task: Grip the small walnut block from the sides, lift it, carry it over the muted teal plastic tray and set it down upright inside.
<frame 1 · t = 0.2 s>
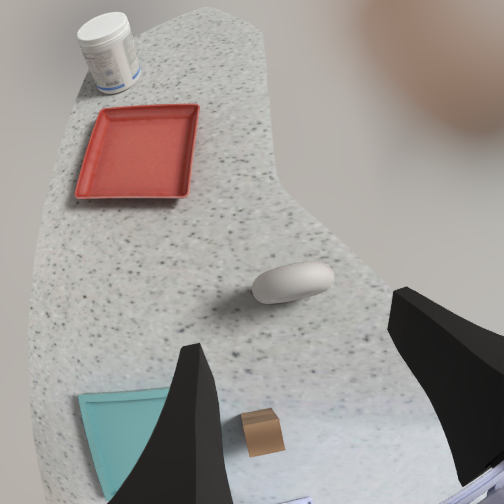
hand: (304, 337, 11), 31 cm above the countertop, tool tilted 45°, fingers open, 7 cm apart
tray: (149, 445, 35), on the countertop
supplement tub: (119, 80, 53), on the countertop
donut: (285, 291, 43), on the countertop
plant saucer: (142, 158, 49), on the countertop
block: (258, 424, 37), on the countertop
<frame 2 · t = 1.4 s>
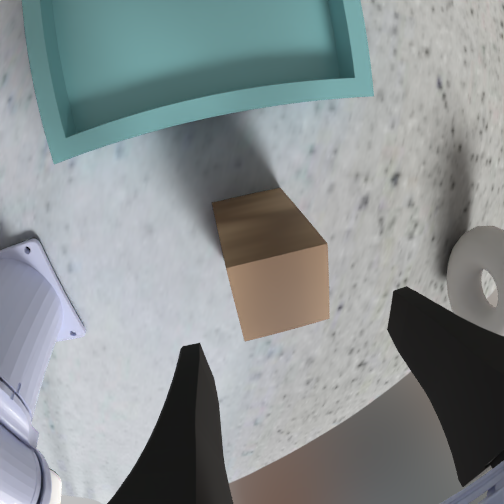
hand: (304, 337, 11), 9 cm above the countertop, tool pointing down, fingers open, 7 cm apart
wine bottle: (35, 468, 32), on the countertop
donut: (451, 256, 24), on the countertop
block: (251, 225, 19), on the countertop
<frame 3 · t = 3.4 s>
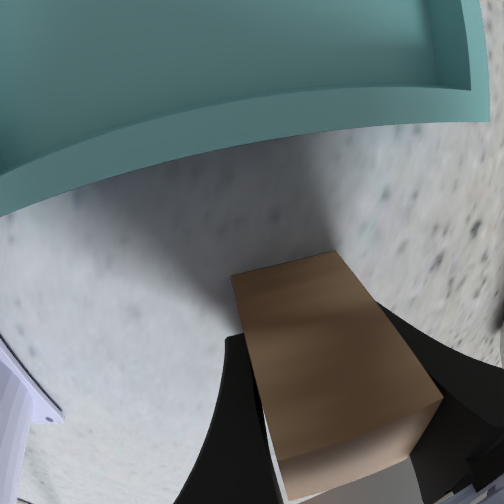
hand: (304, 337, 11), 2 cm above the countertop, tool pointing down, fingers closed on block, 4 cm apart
block: (289, 304, 13), on the countertop, touching gripper
when the fingers open (3 cm above the countertop, at t = 8.7 s): block stays where it is, resting on tray.
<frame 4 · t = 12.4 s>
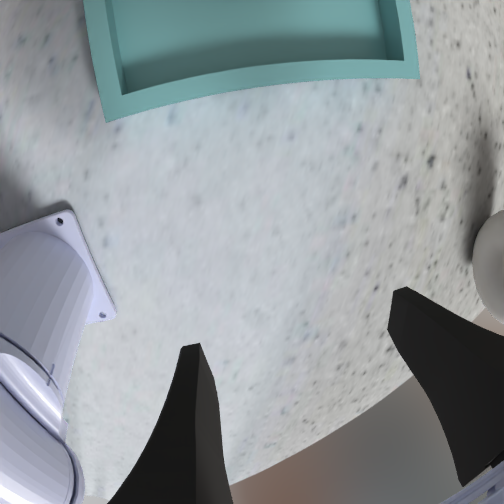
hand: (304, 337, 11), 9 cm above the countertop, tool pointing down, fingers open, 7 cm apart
donut: (476, 240, 24), on the countertop
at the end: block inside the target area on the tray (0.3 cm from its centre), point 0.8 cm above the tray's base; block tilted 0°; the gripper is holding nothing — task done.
